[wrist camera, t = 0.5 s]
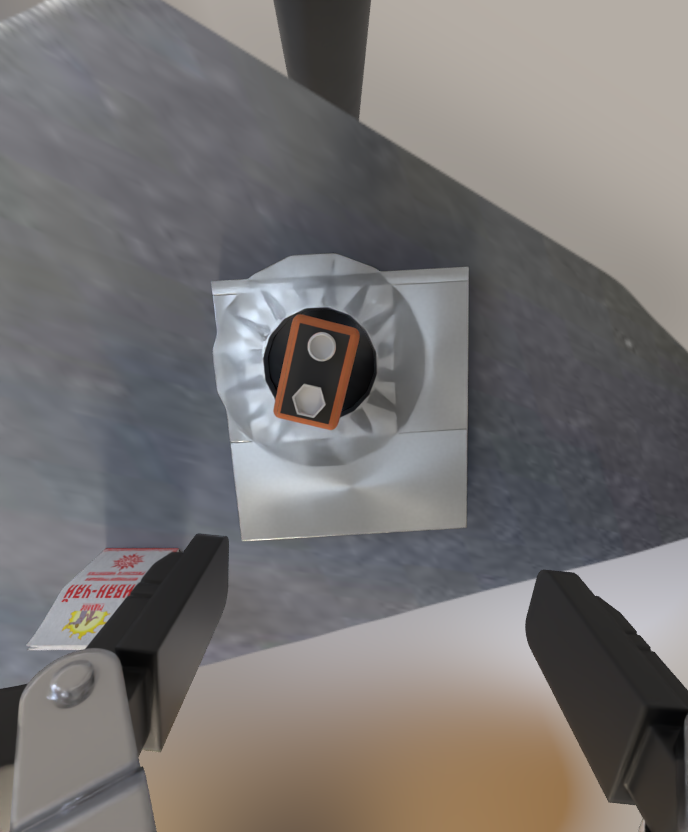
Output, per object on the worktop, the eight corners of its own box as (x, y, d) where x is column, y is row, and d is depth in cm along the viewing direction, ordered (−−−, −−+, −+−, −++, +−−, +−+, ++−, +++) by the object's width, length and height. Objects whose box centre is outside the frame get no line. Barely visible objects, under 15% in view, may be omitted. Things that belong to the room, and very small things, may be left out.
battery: (288, 396, 34) (268, 420, 24) (305, 318, 33) (291, 310, 23) (336, 408, 35) (336, 436, 25) (355, 331, 33) (363, 329, 23)
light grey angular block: (181, 583, 38) (127, 670, 28) (110, 583, 38) (30, 671, 28) (178, 548, 37) (121, 624, 27) (106, 548, 37) (22, 625, 27)
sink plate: (209, 264, 32) (200, 259, 30) (461, 250, 32) (469, 245, 30) (240, 530, 37) (235, 541, 35) (460, 517, 37) (467, 527, 35)
